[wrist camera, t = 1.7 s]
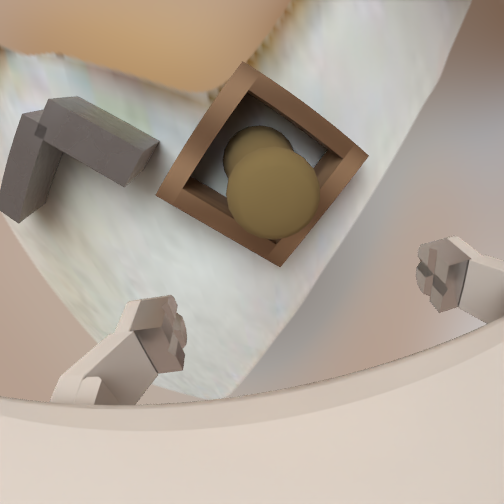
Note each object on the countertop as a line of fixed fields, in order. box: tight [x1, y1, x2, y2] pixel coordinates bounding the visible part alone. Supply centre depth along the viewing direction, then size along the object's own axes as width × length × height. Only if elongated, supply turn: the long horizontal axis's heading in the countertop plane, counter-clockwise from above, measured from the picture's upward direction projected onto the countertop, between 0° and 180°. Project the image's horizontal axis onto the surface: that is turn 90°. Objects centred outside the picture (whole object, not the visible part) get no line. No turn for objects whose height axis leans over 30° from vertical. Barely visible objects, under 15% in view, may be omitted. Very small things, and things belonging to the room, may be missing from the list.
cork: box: [223, 125, 320, 240], centre depth 20 cm, size 6×6×11 cm
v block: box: [0, 96, 159, 223], centre depth 20 cm, size 8×16×5 cm, turn 100°
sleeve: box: [156, 62, 369, 267], centre depth 23 cm, size 12×12×4 cm
